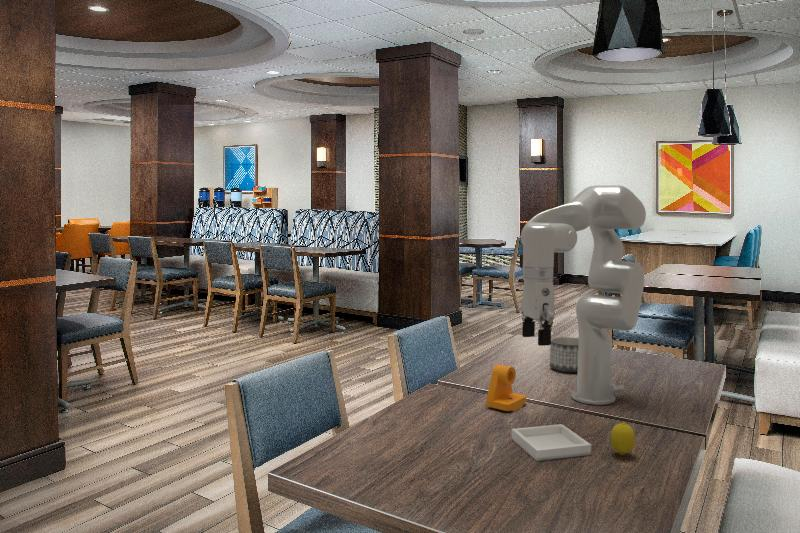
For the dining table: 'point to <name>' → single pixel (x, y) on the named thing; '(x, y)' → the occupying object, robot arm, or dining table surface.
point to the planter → (564, 354)
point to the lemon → (622, 438)
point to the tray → (550, 442)
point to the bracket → (504, 390)
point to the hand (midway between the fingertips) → (536, 340)
